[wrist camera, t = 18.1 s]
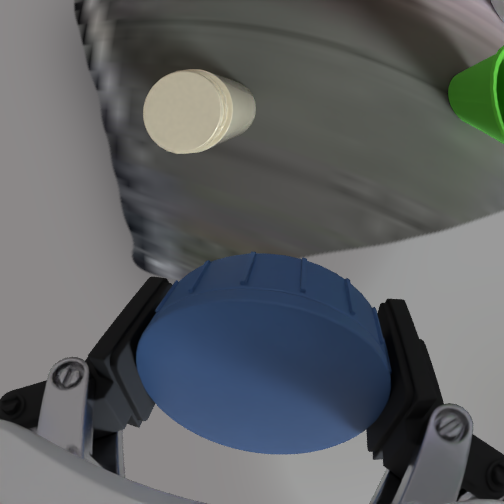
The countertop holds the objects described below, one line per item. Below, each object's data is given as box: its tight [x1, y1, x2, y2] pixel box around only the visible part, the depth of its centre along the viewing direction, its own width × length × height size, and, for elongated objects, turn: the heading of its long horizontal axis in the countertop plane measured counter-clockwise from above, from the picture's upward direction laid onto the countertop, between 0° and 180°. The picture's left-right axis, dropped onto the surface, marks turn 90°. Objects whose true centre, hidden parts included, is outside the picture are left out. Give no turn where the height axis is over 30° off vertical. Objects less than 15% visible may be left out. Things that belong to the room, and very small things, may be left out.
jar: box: [143, 69, 256, 154], centre depth 21 cm, size 6×6×11 cm
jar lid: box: [136, 252, 392, 454], centre depth 8 cm, size 7×7×2 cm
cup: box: [448, 46, 504, 144], centre depth 15 cm, size 9×9×11 cm
